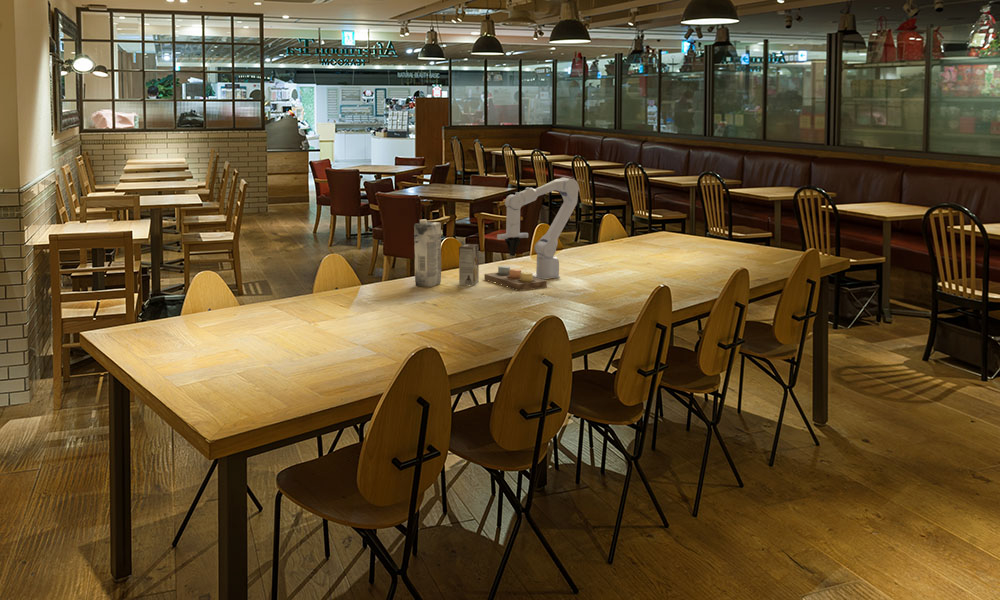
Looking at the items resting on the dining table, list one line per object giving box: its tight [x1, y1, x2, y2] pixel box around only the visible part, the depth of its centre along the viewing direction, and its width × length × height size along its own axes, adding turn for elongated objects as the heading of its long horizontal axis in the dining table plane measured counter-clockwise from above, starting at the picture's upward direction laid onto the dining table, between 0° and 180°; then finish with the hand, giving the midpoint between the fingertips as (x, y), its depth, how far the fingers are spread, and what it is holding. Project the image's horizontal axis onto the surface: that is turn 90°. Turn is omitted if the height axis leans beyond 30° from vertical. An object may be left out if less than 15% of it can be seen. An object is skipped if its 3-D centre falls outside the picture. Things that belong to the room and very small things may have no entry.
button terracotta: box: [509, 268, 522, 279], centre depth 367 cm, size 5×5×3 cm
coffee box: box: [458, 243, 480, 287], centre depth 365 cm, size 9×6×16 cm
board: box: [483, 271, 548, 291], centre depth 368 cm, size 14×26×2 cm, turn 32°
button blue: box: [497, 265, 511, 276], centre depth 374 cm, size 5×5×3 cm
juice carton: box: [413, 218, 442, 288], centre depth 360 cm, size 9×10×27 cm
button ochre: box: [520, 271, 534, 283], centre depth 360 cm, size 5×5×3 cm
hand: (512, 255), depth 373 cm, fingers closed
